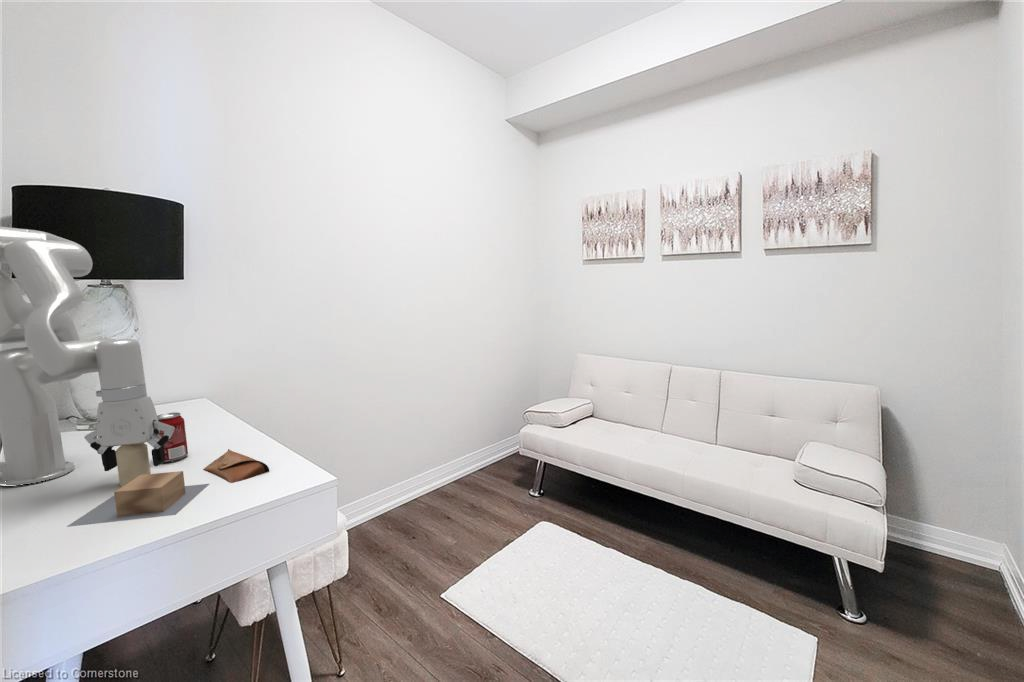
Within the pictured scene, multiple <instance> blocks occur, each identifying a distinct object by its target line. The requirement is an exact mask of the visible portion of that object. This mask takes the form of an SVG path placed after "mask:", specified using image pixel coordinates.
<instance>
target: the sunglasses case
mask: <svg viewBox="0 0 1024 682" xmlns="http://www.w3.org/2000/svg"><path fill="white" fill-rule="evenodd" d="M202 470H203V471H204V472H207V473H209V474H212V475H214V476H217V477H218V478H221V480H225V481H226V482H228V483H229V484H233V483H238V482H241V481H246V480H248V479H251V478H254V477H257V476H260V475H264V474H265V473H269V472H270V468H269V466H268V465H267V464H266V463H264V462H263V461H260V460H257V459H254V458H253V457H250V456H247V455H244V454H242V453H239V452H235V451H233V450H232V449H229V448H228V449H227V451H226V452H224V453H223V454H222V455H220V456H219V457H217V459H215V460H213V461H212V462H210V464H208V465H206V466H205V467H204V468H203V469H202Z"/></svg>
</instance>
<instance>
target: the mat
mask: <svg viewBox="0 0 1024 682" xmlns="http://www.w3.org/2000/svg"><path fill="white" fill-rule="evenodd" d="M209 485H210V483H202V484H201V483H200V484H194V485H193V484H192V485H185V492H186V493H185V494H184V495H183V496H182V497H180V498H179V499H178V500H177V501H176V502H175V503H173V504H172V505H171V506H170V507H169V508H167V509H166V510H165V511H163V512H153V513H144V514H135V515H126V516H117V510H116V503H115V495H112V496H110V497H109V498H108V499H106V500H105V501H103V502H101V503H100V504H99V505H97V506H96V507H94V508H92V509H91V510H89V511H88V512H86V513H85V514H84V515H82V516H80V517H79V518H77V519H76V520H75V521H73V522H71V523H70V524H68V525H66V527H77V526H85V525H95V524H96V525H97V524H103V523H104V524H105V523H113V522H120V521H121V522H122V521H123V522H124V521H131V520H133V521H134V520H141V519H149V518H158V517H166V516H168V517H169V516H176V515H177V514H178V513H179V512H181V511H182V510H183V509H184V508H185V507H187V505H188V504H190V502H192V501H193V500H194V499H195V498H196V497H197V496H198V495H200V493H202V491H204V490H205V489H206V488H207V487H208V486H209Z"/></svg>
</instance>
